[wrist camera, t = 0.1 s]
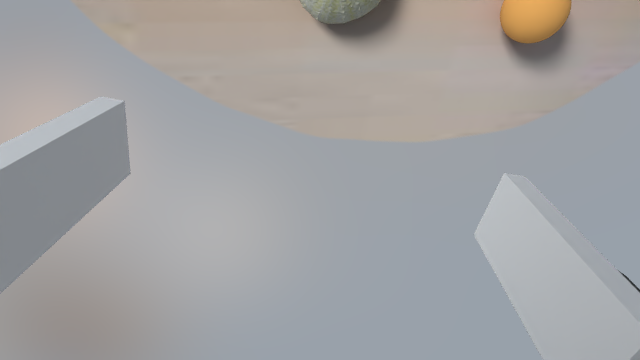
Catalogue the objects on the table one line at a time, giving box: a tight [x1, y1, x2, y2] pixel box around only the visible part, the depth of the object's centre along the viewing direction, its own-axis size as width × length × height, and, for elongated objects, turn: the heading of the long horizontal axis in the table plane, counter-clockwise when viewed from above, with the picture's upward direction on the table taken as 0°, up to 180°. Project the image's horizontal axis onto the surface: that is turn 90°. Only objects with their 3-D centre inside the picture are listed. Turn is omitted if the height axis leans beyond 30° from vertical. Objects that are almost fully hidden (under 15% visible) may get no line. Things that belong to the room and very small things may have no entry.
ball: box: [500, 0, 571, 43], centre depth 32 cm, size 6×6×6 cm
